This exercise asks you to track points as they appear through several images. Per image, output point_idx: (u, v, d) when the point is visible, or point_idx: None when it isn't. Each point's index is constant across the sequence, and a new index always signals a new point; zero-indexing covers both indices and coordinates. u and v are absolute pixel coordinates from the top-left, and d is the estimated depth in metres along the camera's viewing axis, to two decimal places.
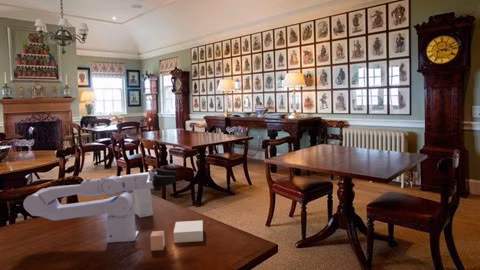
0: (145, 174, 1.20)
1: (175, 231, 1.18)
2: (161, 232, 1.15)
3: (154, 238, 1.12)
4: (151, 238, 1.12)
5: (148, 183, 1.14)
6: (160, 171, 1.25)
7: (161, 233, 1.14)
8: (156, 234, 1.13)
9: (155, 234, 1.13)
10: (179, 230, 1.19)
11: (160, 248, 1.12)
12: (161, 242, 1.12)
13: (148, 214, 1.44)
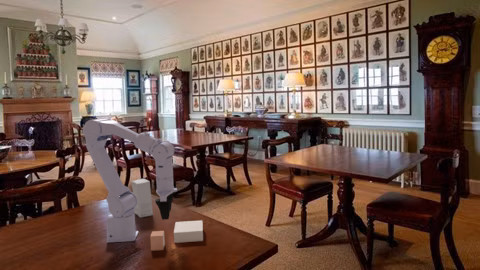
0: (172, 187, 1.16)
1: (175, 231, 1.18)
2: (161, 232, 1.15)
3: (154, 238, 1.12)
4: (151, 238, 1.12)
5: (164, 197, 1.10)
6: (172, 195, 1.21)
7: (161, 233, 1.14)
8: (156, 234, 1.13)
9: (155, 234, 1.13)
10: (180, 230, 1.19)
11: (160, 248, 1.12)
12: (161, 242, 1.12)
13: (148, 214, 1.44)
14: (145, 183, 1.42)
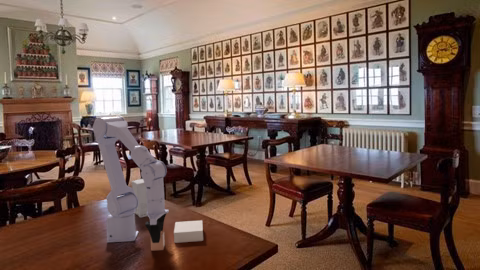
0: (163, 208, 1.12)
1: (175, 231, 1.18)
2: (161, 232, 1.15)
3: None
4: None
5: (154, 221, 1.06)
6: (163, 216, 1.17)
7: (161, 233, 1.14)
8: None
9: None
10: (180, 230, 1.19)
11: (160, 248, 1.12)
12: (161, 242, 1.12)
13: None
14: None
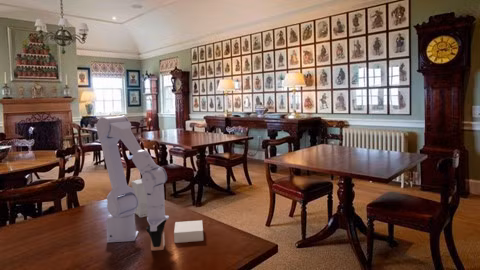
0: (163, 215, 1.12)
1: (175, 231, 1.18)
2: None
3: None
4: None
5: (155, 227, 1.06)
6: (163, 224, 1.16)
7: None
8: None
9: None
10: (180, 230, 1.19)
11: (160, 248, 1.12)
12: (161, 242, 1.12)
13: None
14: None
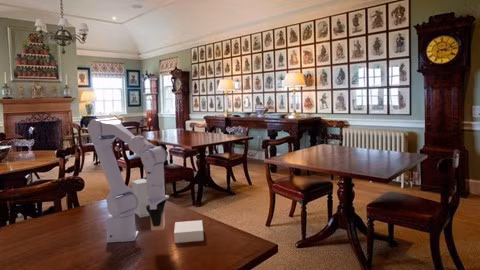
0: (163, 194, 1.11)
1: (176, 231, 1.18)
2: None
3: None
4: None
5: (154, 205, 1.05)
6: (163, 204, 1.15)
7: None
8: None
9: None
10: (180, 230, 1.19)
11: (160, 228, 1.12)
12: (161, 222, 1.12)
13: (148, 214, 1.44)
14: (145, 183, 1.42)
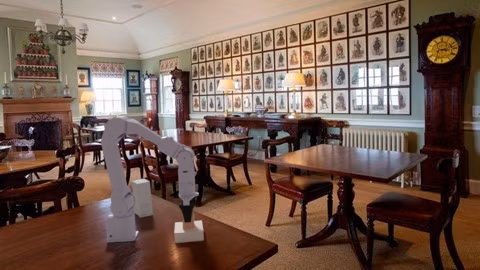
0: (194, 191, 1.20)
1: (176, 232, 1.18)
2: None
3: None
4: None
5: (187, 201, 1.14)
6: (193, 199, 1.25)
7: (192, 213, 1.22)
8: None
9: None
10: (180, 231, 1.19)
11: (191, 226, 1.21)
12: (192, 221, 1.21)
13: (148, 214, 1.44)
14: (145, 183, 1.42)
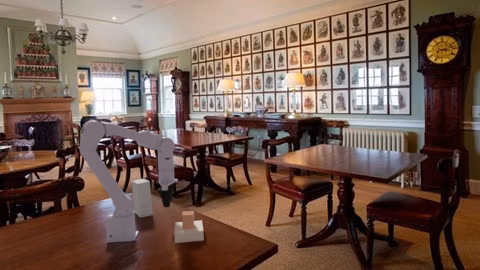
0: (172, 177, 1.27)
1: (176, 231, 1.18)
2: (191, 212, 1.23)
3: (185, 217, 1.20)
4: (183, 217, 1.20)
5: (166, 186, 1.21)
6: (173, 186, 1.32)
7: (191, 213, 1.22)
8: (187, 214, 1.21)
9: (186, 214, 1.21)
10: (180, 231, 1.19)
11: (191, 226, 1.21)
12: (192, 221, 1.21)
13: (148, 214, 1.44)
14: (145, 183, 1.42)
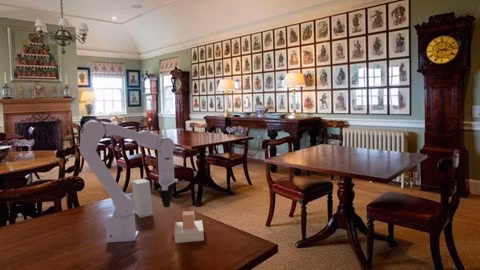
0: (172, 177, 1.27)
1: (176, 231, 1.18)
2: (192, 212, 1.23)
3: (186, 217, 1.20)
4: (183, 217, 1.20)
5: (166, 186, 1.21)
6: (173, 186, 1.32)
7: (192, 213, 1.22)
8: (188, 214, 1.21)
9: (186, 214, 1.21)
10: (180, 231, 1.19)
11: (191, 226, 1.21)
12: (192, 221, 1.21)
13: (148, 214, 1.44)
14: (145, 183, 1.42)
